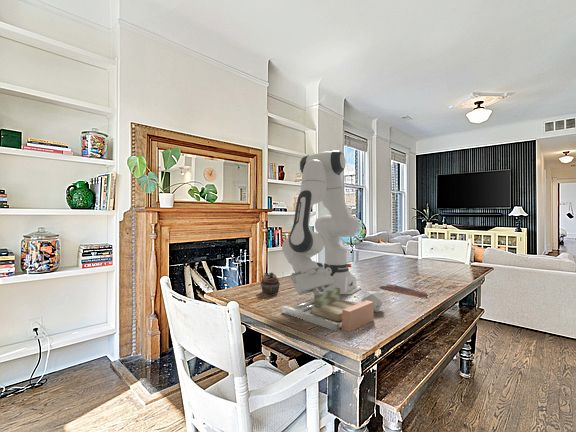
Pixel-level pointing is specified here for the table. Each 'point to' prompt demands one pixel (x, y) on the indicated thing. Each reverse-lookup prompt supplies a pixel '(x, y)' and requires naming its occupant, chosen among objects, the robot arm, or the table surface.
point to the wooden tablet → (404, 290)
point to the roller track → (311, 315)
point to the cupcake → (270, 284)
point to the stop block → (357, 315)
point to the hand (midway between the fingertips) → (324, 298)
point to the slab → (330, 304)
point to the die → (373, 299)
